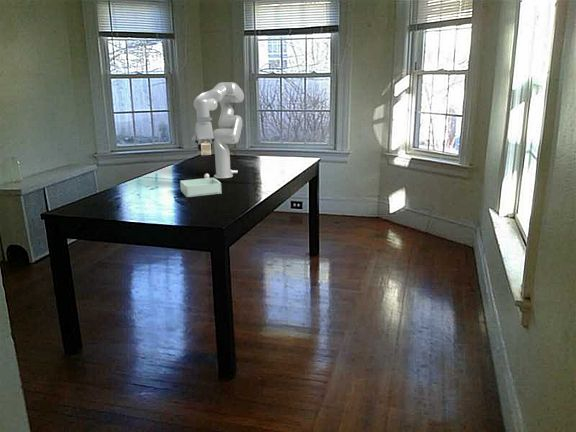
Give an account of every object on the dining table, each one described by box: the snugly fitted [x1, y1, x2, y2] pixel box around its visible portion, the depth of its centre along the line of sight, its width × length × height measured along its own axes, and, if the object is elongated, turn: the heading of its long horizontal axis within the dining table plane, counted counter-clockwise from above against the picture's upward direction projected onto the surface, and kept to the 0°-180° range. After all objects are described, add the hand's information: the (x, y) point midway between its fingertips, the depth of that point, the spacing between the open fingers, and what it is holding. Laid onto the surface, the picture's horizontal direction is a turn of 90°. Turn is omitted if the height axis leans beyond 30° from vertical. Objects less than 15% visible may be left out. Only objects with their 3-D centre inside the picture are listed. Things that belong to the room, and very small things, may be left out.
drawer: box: [199, 139, 212, 156], centre depth 312 cm, size 6×6×8 cm
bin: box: [179, 177, 223, 198], centre depth 299 cm, size 20×18×6 cm
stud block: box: [203, 173, 222, 184], centre depth 318 cm, size 14×12×7 cm
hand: (205, 150), depth 313 cm, fingers closed on drawer, 5 cm apart
